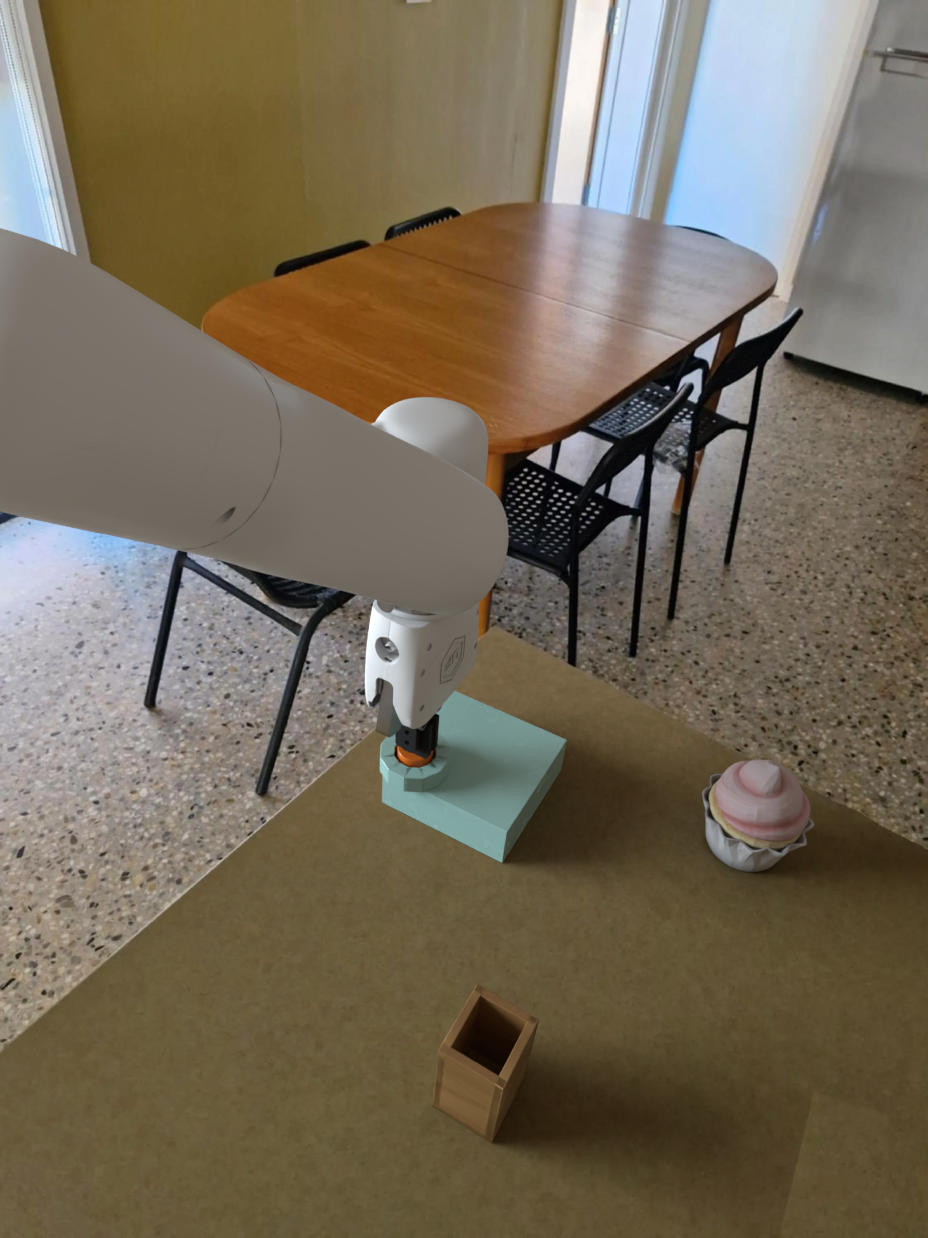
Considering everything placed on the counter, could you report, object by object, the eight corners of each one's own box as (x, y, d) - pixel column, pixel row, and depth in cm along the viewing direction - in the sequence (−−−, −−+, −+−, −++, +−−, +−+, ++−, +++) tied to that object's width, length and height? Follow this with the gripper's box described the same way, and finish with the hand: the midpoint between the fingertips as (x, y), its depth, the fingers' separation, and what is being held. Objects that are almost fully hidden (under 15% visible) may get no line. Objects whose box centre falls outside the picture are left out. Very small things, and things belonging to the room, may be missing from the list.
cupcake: (795, 904, 73) (836, 828, 67) (682, 870, 75) (711, 793, 69) (798, 818, 80) (835, 742, 74) (694, 789, 82) (722, 713, 76)
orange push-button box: (497, 871, 74) (504, 826, 70) (366, 805, 78) (366, 759, 74) (560, 770, 83) (570, 725, 79) (440, 716, 87) (444, 671, 83)
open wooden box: (491, 1144, 57) (503, 1090, 52) (431, 1106, 59) (437, 1050, 54) (525, 1075, 61) (539, 1018, 56) (468, 1041, 62) (476, 983, 57)
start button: (420, 780, 74) (421, 766, 73) (390, 765, 75) (390, 751, 74) (438, 757, 77) (439, 743, 75) (409, 743, 78) (409, 729, 76)
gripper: (414, 649, 57) (407, 827, 69) (517, 540, 67) (496, 710, 79) (318, 608, 59) (327, 786, 71) (432, 509, 70) (423, 678, 81)
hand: (416, 746), depth 75 cm, fingers closed
